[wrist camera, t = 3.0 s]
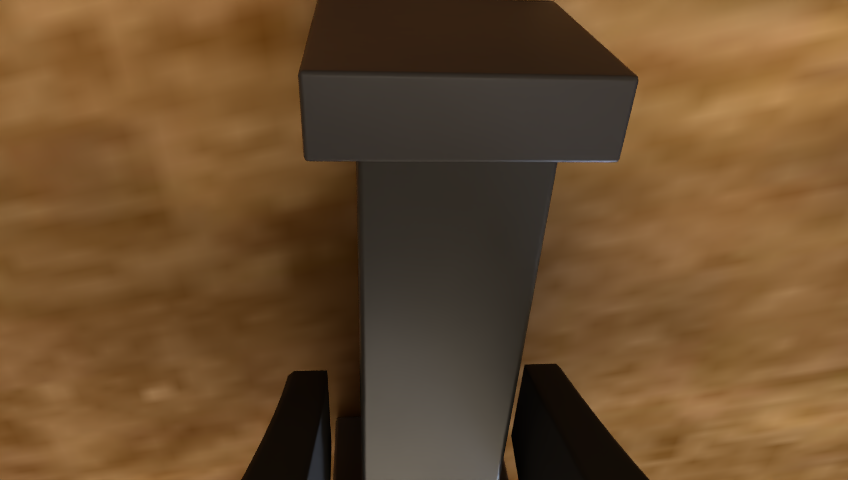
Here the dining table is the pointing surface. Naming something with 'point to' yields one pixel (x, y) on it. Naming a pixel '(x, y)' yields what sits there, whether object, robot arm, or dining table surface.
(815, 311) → the dining table surface
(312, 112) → the racket
